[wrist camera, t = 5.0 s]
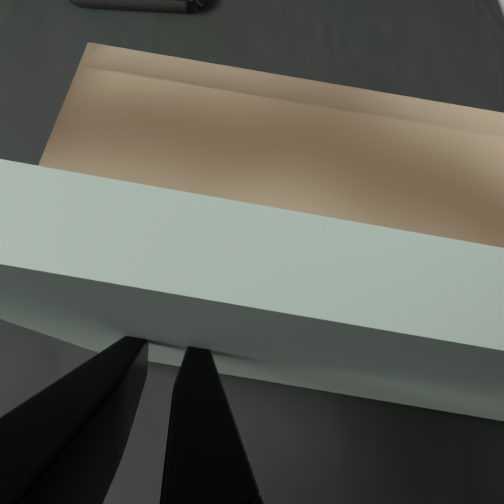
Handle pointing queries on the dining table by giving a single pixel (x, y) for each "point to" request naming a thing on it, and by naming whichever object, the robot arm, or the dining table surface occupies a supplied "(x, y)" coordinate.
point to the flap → (254, 289)
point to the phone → (144, 5)
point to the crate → (284, 143)
